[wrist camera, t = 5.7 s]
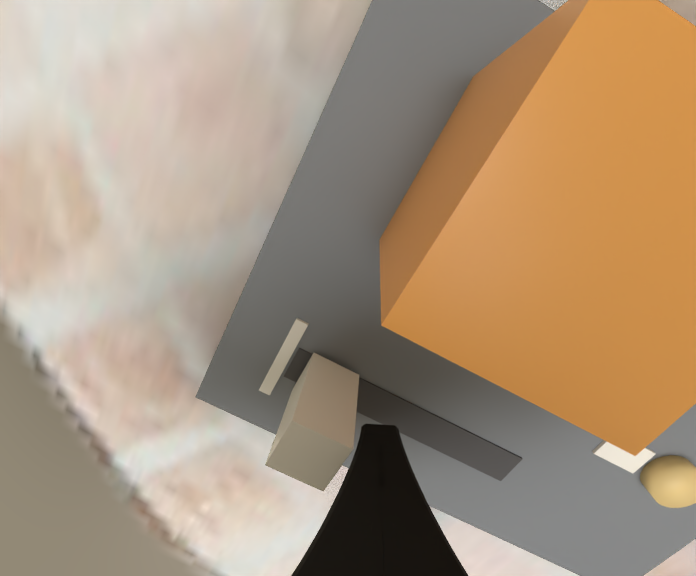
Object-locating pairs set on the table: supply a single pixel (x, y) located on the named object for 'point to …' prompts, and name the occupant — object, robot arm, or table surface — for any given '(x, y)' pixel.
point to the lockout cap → (564, 223)
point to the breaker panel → (412, 359)
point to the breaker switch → (317, 424)
